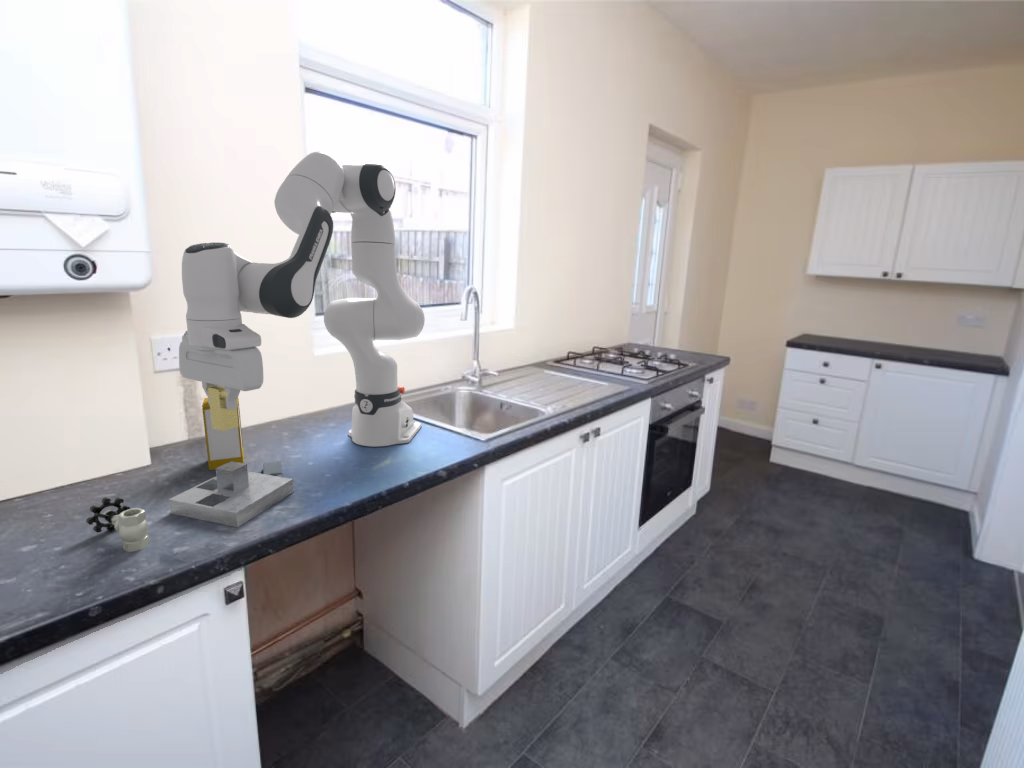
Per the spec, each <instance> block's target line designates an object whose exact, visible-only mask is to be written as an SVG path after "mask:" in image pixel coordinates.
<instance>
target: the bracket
mask: <svg viewBox="0 0 1024 768" xmlns="http://www.w3.org/2000/svg"><path fill="white" fill-rule="evenodd" d="M262 468H263V470H262V471H263V473H262V474H266V475H272V476H277V477H283V471H282V470H283V469H282V468H283V467H282V461H281V460H277V461H270V462H269V461H268V462H263V467H262Z"/></svg>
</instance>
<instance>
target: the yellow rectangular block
mask: <svg viewBox="0 0 1024 768" xmlns="http://www.w3.org/2000/svg"><path fill="white" fill-rule="evenodd" d="M208 393H209V402H210V412H211V422H212V428H213V429H216V430H220V431H226V430H229V429H233V428H237V427H238V416H237V408H236V409H232V410H228V409H225V408H224V404H223V400H226V396H227V392H225V387H223V386H219V385H218V386H212V387H208Z"/></svg>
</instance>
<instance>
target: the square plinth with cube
mask: <svg viewBox="0 0 1024 768" xmlns="http://www.w3.org/2000/svg"><path fill="white" fill-rule="evenodd" d="M248 470H249V469H248V464H247V463H238V462H232V461H230V462H228V463H226V464H224V465H222V466H220V467H218V468H216V469H215V475H216V476H214V477H211V478H210V479H207V480H206V481H203V482H200V483H199V484H197V485H195V486H194V487H192V488H189V489H187V490H185V491H183V492H181V493H179V494H177V495H175V496H172V497H171V498H169V499H168V505H169V511H170V512H169V513H170V514H171V515H176V516H182V517H186V518H190V519H196V520H201V521H206V522H211V523H215V524H220V525H224V526H230V527H235V528H239V527H240V526H242V525H244V524H245V523H247V522H248V521H249V520H251V519H253V518H255V517H256V516H258V515H259V514H261V513H263V512H264V511H266V510H267V509H269V508H270V507H272V506H273V505H275V504H277V503H279V502H280V501H282V500H284V499H285V498H287V497H288V496H289V495H291V494H293V493H294V480H293V478H288V477H283V476H282V477H277V476H272V475H266V474H263V473H259V472H254V471H248Z"/></svg>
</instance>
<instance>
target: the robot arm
mask: <svg viewBox="0 0 1024 768" xmlns="http://www.w3.org/2000/svg"><path fill="white" fill-rule="evenodd" d="M395 181H396V180H395V178H394V176H393V174H392V173H391V171H390V170H389V168H388V167H387V165H384V164H382V163H379V162H372V161H368V162H345V163H342V164H341V163H340V162H339V161H338V159H336V158H335V157H334V156H332V155H330V154H328V153H326V152H323V151H314V152H310V153H309V154H307V155H306V156H305V157H303V158H302V159H301V160H300V161H299V162H298V163H297V164H296V165H295V166H294V167H293V168H292V170H291V171H290V172H289V173H288V175H287V176H286V177H285V179H284V180H283V182H282V183H281V184H280V186H279V187H278V189H277V191H276V194H275V198H274V201H273V202H274V207H275V208H274V209H275V211H276V214H277V216H278V218H279V219H280V221H281V222H282V223H283V224H284V225H285V226H286V227H287V228H288V229H289V230H290V231H292V232H293V233H295V234H296V235H298V236H297V239H296V242H295V243H294V246H293V248H292V250H291V252H290V256H289V257H288V258H286V259H285V260H282V261H279V262H274V263H268V262H267V263H264V262H263V263H262V262H261V263H260V262H252V261H251V260H250V259H246V258H245V257H244V256H241V255H240V254H238V253H237V252H236V251H235V250H233V247H232V246H231V245H230V244H229V243H225V242H203V243H196V244H191V245H190V246H188V247H187V248H185V250H184V251H183V254H182V259H181V282H182V293H183V296H184V299H185V301H186V304H187V305H186V306H187V307H186V308H187V309H186V314H185V320H186V328H187V330H186V331H185V332H184V333H183V335H182V336H181V341H180V343H179V347H178V366H179V367H178V368H179V369H178V370H179V373H180V375H181V376H182V378H184V379H187V380H192V381H197V382H201V386H202V389H203V391H204V393H205V395H206V397H207V398H208V404H209V405H210V402H209V393H208V387H212V386H217V385H219V386H223V387H225V392H227V396H226V400H223V404H224V408H225V409H228V410H232V409H236V408H237V398H238V399H239V395H240V392H241V391H242V392H249V391H254V390H259V389H261V387H262V386H263V385H264V366H263V363H264V362H263V356H262V353H261V351H260V349H259V348H258V347H260V346H262V337H261V335H260V334H259V333H258V332H255V331H254V330H252V329H251V328H250V327H248V326H247V325H246V324H245V323H243V318H242V314H241V312H244V313H253V314H262V315H263V314H265V315H274V316H277V317H281V318H282V317H283V318H287V319H295V318H297V317H298V318H299V317H300V316H301V315H302V314H304V313H305V312H306V311H307V310H308V308H309V307H310V306H311V304H312V302H313V300H314V293H315V288H316V283H317V278H318V275H319V272H320V270H321V267H322V265H323V262H324V259H325V256H326V254H327V252H328V251H327V250H328V248H329V245H330V242H331V240H332V238H333V237H332V236H333V232H334V220H333V218H332V215H331V214H332V213H333V214H334V213H344V214H346V213H348V214H350V216H351V219H352V220H351V230H350V231H351V233H350V234H351V235H350V236H351V237H350V238H351V239H350V241H351V242H350V243H351V244H350V245H351V271H352V273H353V275H354V277H355V278H356V279H357V280H359V281H360V282H362V283H364V284H365V285H368V286H370V287H371V288H373V289H375V291H376V293H377V297H374V298H373V297H372V298H371V297H367V298H366V297H347V298H340V299H334V300H331V301H330V302H329V303H328V305H327V306H326V307H325V310H324V312H323V313H324V314H323V323H324V326H325V329H326V330H327V332H328V333H329V334H330V336H332V337H333V338H335V339H336V340H337V341H339V342H340V343H341V345H343V346H344V347H345V349H346V350H347V352H348V353H349V355H350V357H351V359H352V363H353V367H354V374H355V388H356V389H355V390H354V403H355V405H354V406H353V407H352V411H351V413H352V414H351V427H350V429H349V430H348V432H347V433H348V436H349V437H351V441H352V442H353V443H355V444H356V445H359V446H363V447H364V446H365V447H376V448H377V447H386V446H393V445H399V444H408V443H410V442H411V441H412V439H413V438H414V437H415V435H416V434H417V433H418V431H420V430H421V428H422V423H421V422H419V421H416V420H414V410H413V409H412V407H411V406H409V405H408V404H407V403H406V402H404V401H403V400H402V394H405V392H406V388H405V386H399V384H398V383H399V382H398V380H399V379H398V363H397V361H396V359H395V358H394V357H393V356H391V355H390V354H388V353H386V352H384V351H382V350H379V349H378V348H377V347H376V346H375V344H374V341H376V340H378V341H381V340H382V341H384V340H385V341H390V340H392V341H393V340H395V341H400V340H407V339H413V338H417V337H418V336H419V335H420V334H421V332H422V330H423V329H424V326H425V313H424V310H423V308H422V307H421V306H420V304H419V303H418V302H417V301H416V300H414V299H413V298H412V297H411V296H410V295H408V293H407V292H406V290H405V289H404V288H403V286H402V283H401V282H400V278H399V275H398V270H397V262H396V259H397V258H396V235H395V228H394V227H395V225H394V219H393V214H392V211H391V206H392V205H393V203H394V200H395V197H396V182H395Z"/></svg>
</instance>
